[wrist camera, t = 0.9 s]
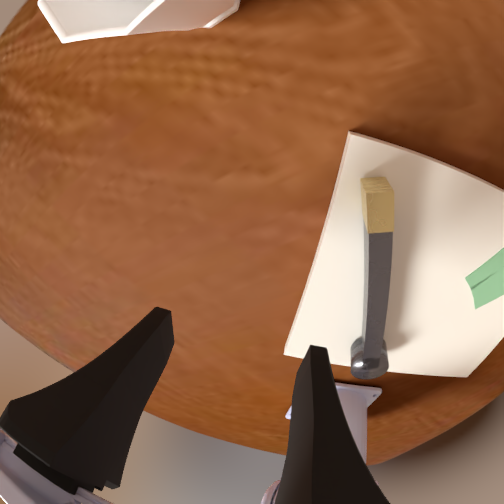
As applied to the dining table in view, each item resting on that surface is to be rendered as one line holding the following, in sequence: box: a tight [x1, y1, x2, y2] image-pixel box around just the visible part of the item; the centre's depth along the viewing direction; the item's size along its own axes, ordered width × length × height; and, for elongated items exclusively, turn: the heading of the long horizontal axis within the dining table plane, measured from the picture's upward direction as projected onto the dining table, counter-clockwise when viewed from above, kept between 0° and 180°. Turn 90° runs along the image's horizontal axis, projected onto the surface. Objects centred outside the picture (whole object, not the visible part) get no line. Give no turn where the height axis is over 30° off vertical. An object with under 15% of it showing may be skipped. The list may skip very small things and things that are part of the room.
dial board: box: [284, 131, 504, 377], centre depth 17 cm, size 17×19×1 cm
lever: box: [350, 177, 394, 379], centre depth 16 cm, size 14×3×2 cm, turn 13°
